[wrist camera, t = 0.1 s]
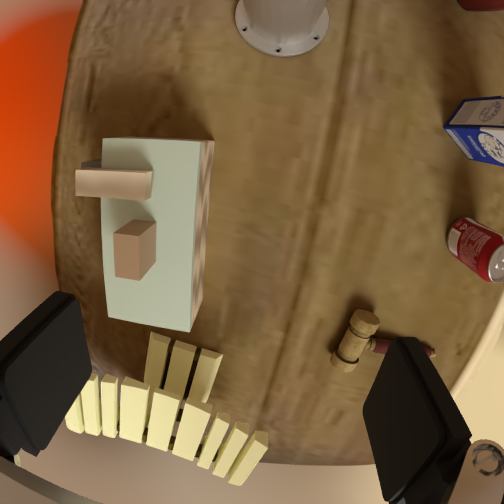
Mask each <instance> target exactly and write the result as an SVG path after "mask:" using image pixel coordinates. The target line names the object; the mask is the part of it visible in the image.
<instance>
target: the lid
mask: <svg viewBox="0 0 504 504" xmlns="http://www.w3.org/2000/svg"><path fill="white" fill-rule="evenodd" d="M202 144H203V142H200V141H186V140H167V139H140V138H103V144H102V166H101V168H119V169H138V170H154V175H153V197H151V198H149V199H147V200H146V201H138V200H126V199H114V198H102V197H101V229H102V251H103V267H104V280H105V291H106V300H107V309H108V317H111V318H116V319H121V320H125V321H130V322H135V323H140V324H145V325H151V326H156V327H162V328H167V329H173V330H179V331H185V332H190V331H191V328H192V298H193V272H194V252H195V234H196V218H197V203H198V190H199V178H200V166H201V155H202Z"/></svg>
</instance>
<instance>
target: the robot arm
mask: <svg viewBox="0 0 504 504" xmlns="http://www.w3.org/2000/svg"><path fill="white" fill-rule="evenodd" d="M327 1H328V0H239V2H238V4H237V7H236V11H235V21H236V25H237V28H238V31H239V33H240V34H241V36H242V38H243V39H244V40H245V41H246V42H247V43H248V44H249V45H250V46H252V47H253V48H254V49H256V50H258V51H260V52H262V53H265V54H268V55H271V56H278V57H291V56H298V55H301V54H304V53H306V52H308V51H310V50H312V49H313V48H315V47H316V46H317V45H318V44H319V43H320V42H321V41H322V39H323V38H324V36H325V34H326V32H327V29H328V26H329V14H328V10H327V8H326V3H327ZM244 29H246V31H243V30H244ZM314 38H317V40H315V39H314ZM276 50H280V52H276ZM91 373H92V365H91V361H90V357H89V352H88V347H87V342H86V337H85V332H84V327H83V321H82V315H81V309H80V304H79V301H78V300H76V298H75V296H74V295H73V294H69V293H65V292H61V291H56V292H54V293H53V294H52V295H51V296H50V297H49V298H47V299H46V300H45V301H44V302H43V303H42V304H40V305H39V306H38V307H37V308H36V309H35V310H34V311H32V312H31V313H30V314H29V315H28V316H27V317H26V318H25V319H23V320H22V321H21V322H20V323H19V324H18V325H17V326H16V327H15V328H14V329H13V330H11V331H10V332H9V333H8V334H7V335H6V336H5V337H4V338H3V339H2V340H1V341H0V504H102V503H99V502H96V501H93V500H91V499H88V498H85V497H83V496H80V495H78V494H76V493H73V492H71V491H68V490H66V489H64V488H61V487H59V486H57V485H55V484H53V483H51V482H48V481H46V480H44V479H42V478H40V477H38V476H36V475H34V474H32V473H30V472H28V471H27V470H25V469H23V468H22V467H21V463H20V458H19V453H18V452H19V450H20V449H21V447H22V449H23V450H24V451H26V452H28V453H30V454H32V455H34V456H36V457H37V455H38V454H39V452H40V450H44V449H45V448H46V447H47V446H48V444H49V442H50V441H51V439H52V437H53V435H54V434H55V432H56V431H57V429H58V427H59V425H60V424H61V422H62V421H63V419H64V417H65V416H66V414H67V413H68V411H69V409H70V408H71V406H72V405H73V403H74V402H75V400H76V398H77V397H78V395H79V394H80V392H81V391H82V389H83V388H84V386H85V384H86V383H87V381H88V380H89V378H90V376H91ZM363 417H364V421H365V425H366V428H367V432H368V436H369V440H370V444H371V448H372V452H373V456H374V460H375V464H376V468H377V473H378V477H379V481H380V486H381V490H382V495H383V498H384V500H385V501H389V504H504V449H503V448H502V447H501V446H500V445H499V444H497V443H495V442H494V441H491V440H478V441H475V442H474V443H473V444H471V442H470V440H469V439H470V438H471V436H472V434H471V432H470V430H469V428H468V426H467V424H466V422H465V420H464V418H463V417H462V415H461V413H460V411H459V409H458V407H457V405H456V403H455V402H454V400H453V398H452V396H451V394H450V393H449V391H448V389H447V387H446V386H445V384H444V382H443V380H442V379H441V377H440V375H439V373H438V372H437V370H436V368H435V367H434V365H433V363H432V362H431V360H430V358H429V357H428V355H427V353H426V352H425V350H424V348H423V347H422V345H421V344H420V342H419V340H418V339H417V338H415V337H397V339H396V340H395V341H392V342H391V343H390V345H389V347H388V349H387V352H386V354H385V357H384V359H383V362H382V364H381V367H380V369H379V371H378V374H377V376H376V378H375V381H374V383H373V385H372V388H371V390H370V392H369V394H368V396H367V398H366V401H365V403H364V405H363Z"/></svg>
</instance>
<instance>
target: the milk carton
mask: <svg viewBox="0 0 504 504" xmlns="http://www.w3.org/2000/svg"><path fill="white" fill-rule="evenodd" d="M443 128H444V129H445V131H446V132H447V133H448V134H449V135H450V136H451V138H452V139H453V140H454V141H455V143H456V144H457V145H458V146H459V147H460V149H461V150H462V151H463V153H464V154H465V155H466V156H467V158H468V159H470V160H475V161H480V162H485V163H490V164H494V165H499V166H503V167H504V96H494V97H482V98H472V99H464V100H463V101H462V103H461V104H460V105H459V107H458V108H457V109H456V111H455V112H454V114H453V115H452V116H451V118H450V119H449V120H448V122H447V123H446V124H445V126H444V127H443Z"/></svg>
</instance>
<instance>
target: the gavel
mask: <svg viewBox="0 0 504 504" xmlns="http://www.w3.org/2000/svg"><path fill="white" fill-rule="evenodd" d="M350 324H351V325H350V326H349V328H348V330H347V331H346V333H345V335H344V337H343V339H342V341H341V343H340V345H339V348H336V349H335V350H334V352H333V354H332V356H331V358H330V361H331V363H332V365H333V366H334V367H335V368H337V369H338V370H340V371H343V372H351V371H353V370H354V368H355V366H356V365H357V363H358V361H359V358H358V357H359V356H360V354H361V353H362V351H363V350H370V351H373V352H376V353H381V354H386V352H387V349H388V347H389V345H390V343H391V342H392V340H387V339H381V338H370V335H372V334H374V333H375V331H376V330H377V328H378V326H379V324H380V321H379V319H378V317H377V316H376V315H374V314H373V313H371V312H369V311H366V310H362V309H357V310H355V311H354V313H353V315H352V317H351V319H350ZM422 347H423V348H424V350H425V352H426V353H427V355H428V357H429V358H430V357H434V356H436V353H435V352H433V351H432V350H430V349H429V348H428V347H426V346H422Z"/></svg>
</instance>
